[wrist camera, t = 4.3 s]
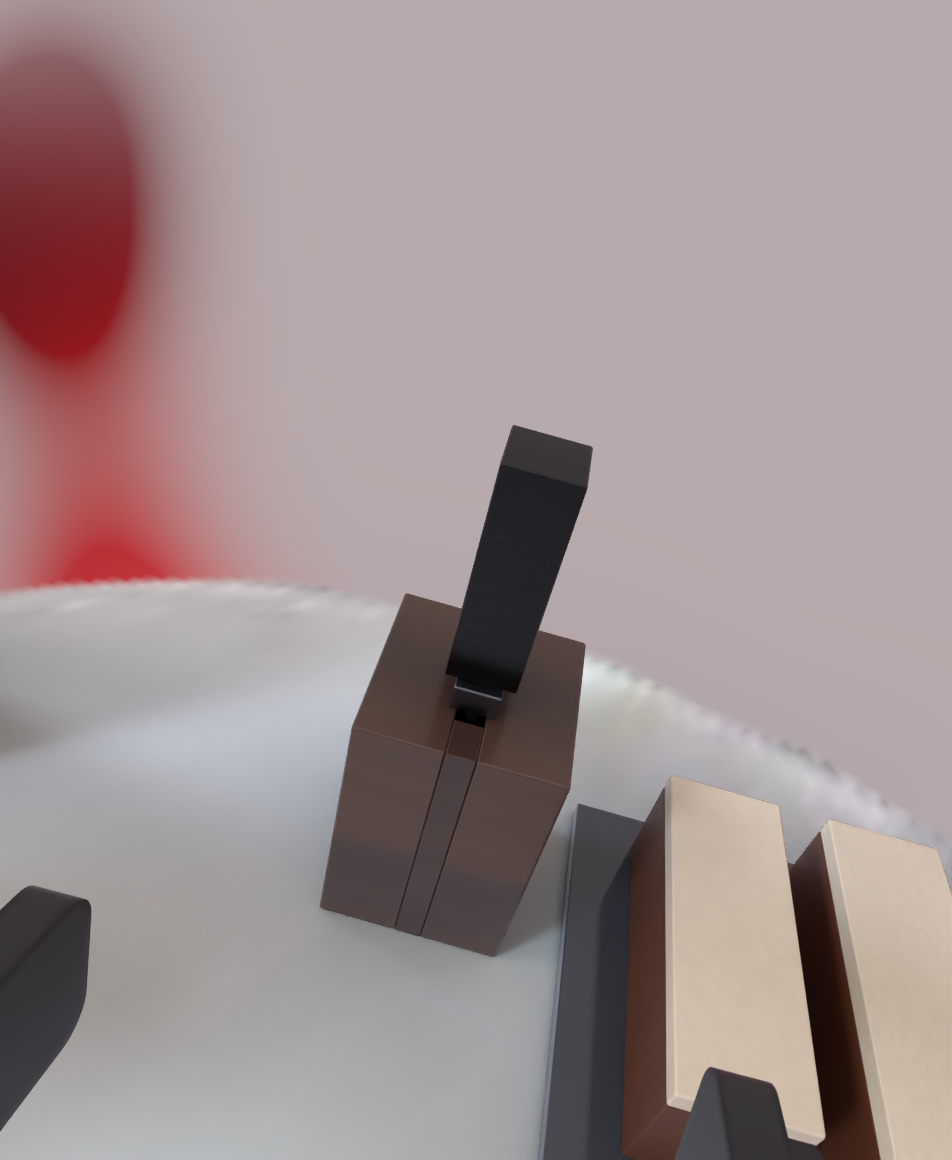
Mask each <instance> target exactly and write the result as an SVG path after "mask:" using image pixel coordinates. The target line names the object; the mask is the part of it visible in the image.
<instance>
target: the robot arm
mask: <svg viewBox="0 0 952 1160" xmlns="http://www.w3.org/2000/svg"><path fill="white" fill-rule="evenodd" d="M90 926H91V905H90V903H89V901H88V900H86V899H82V898H78V897H75V896H71V895H67V894H63V893H60V892H56V891H52V890H48V889H44V888H41V887H37V886H28V887H26V888H24V889H23V890H21V891H20V892H19V893H18V894H17V895H16V896H15V897H13V898H12V899H11V900H10V901H9V902H8V903H7V904H6V905H5V906H4V907H3V908H2V909H1V910H0V1131H1V1130H2V1128H3V1127H4V1126H5V1124H6V1123H7V1122H8V1120H9V1119H10V1118H11V1116H12V1115H13V1114H14V1112H15V1111H16V1110H17V1108H18V1107H19V1106H20V1104H21V1103H22V1102H23V1100H24V1099H25V1098H26V1096H27V1095H28V1094H29V1092H30V1091H31V1090H32V1088H33V1087H34V1086H35V1084H36V1083H37V1082H38V1080H39V1079H40V1078H41V1077H42V1075H43V1074H44V1073H45V1071H46V1070H47V1069H48V1067H49V1066H50V1065H51V1063H52V1062H53V1061H54V1059H55V1058H56V1057H57V1055H58V1054H59V1053H60V1051H61V1050H62V1049H63V1047H64V1046H65V1044H66V1043H67V1041H68V1040H69V1038H70V1036H71V1034H72V1032H73V1031H74V1029H75V1026H76V1024H77V1022H78V1020H79V1017H80V1015H81V1012H82V1009H83V1005H84V1002H85V997H86V989H87V974H88V958H89V942H90ZM674 1160H824V1158H823V1157H822V1155H821V1154H820V1152H819V1150H818V1149H817V1147H816V1146H815V1145H813V1144H809V1143H805V1142H802V1141H798V1140H794V1139H790V1138H788V1134H787V1130H786V1126H785V1122H784V1117H783V1113H782V1109H781V1105H780V1101H779V1097H778V1093H777V1091H776V1088H775V1087H774V1085H773V1084H772V1083H770V1082H767V1081H763V1080H759V1079H755V1078H751V1077H748V1076H744V1075H740V1074H736V1073H732V1072H729V1071H725V1070H721V1069H717V1068H714V1067H709V1068H708V1069H707V1070H706V1071H705V1073H704V1075H703V1078H702V1080H701V1083H700V1086H699V1089H698V1092H697V1095H696V1098H695V1100H694V1103H693V1106H692V1109H691V1112H690V1115H689V1118H688V1121H687V1123H686V1126H685V1129H684V1132H683V1135H682V1138H681V1141H680V1144H679V1147H678V1149H677V1152H676V1156H675V1159H674Z"/></svg>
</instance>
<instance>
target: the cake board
mask: <svg viewBox="0 0 952 1160" xmlns="http://www.w3.org/2000/svg"><path fill="white" fill-rule="evenodd" d="M644 823H645V822H642V821H638V820H635V819H631V818H628V817H624V816H621V815H617V814H614V813H610V812H607V811H603V810H599V809H596V808H592V807H589V806H585V805H582V804H578V805H577V807H576V809H575V811H574V813H573V822H572V832H571V841H570V851H569V861H568V871H567V881H566V891H565V901H564V910H563V920H562V930H561V940H560V950H559V960H558V970H557V979H556V989H555V999H554V1009H553V1019H552V1029H551V1039H550V1048H549V1058H548V1068H547V1078H546V1088H545V1098H544V1108H543V1117H542V1127H541V1137H540V1147H539V1157H538V1160H634V1159H631V1158H627V1157H624V1156H622V1122H623V1091H624V1060H625V1029H626V998H627V968H628V937H629V906H630V875H631V846H632V844H633V843H634V841H635V839H636V837H637V835H638V834H639V832H640V830H641V828H642V826H643V825H644ZM787 865H788V872H789V870H790V869H791V868H792V866H793V865H794V864H791V863H787Z"/></svg>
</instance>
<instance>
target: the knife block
mask: <svg viewBox="0 0 952 1160" xmlns="http://www.w3.org/2000/svg"><path fill="white" fill-rule="evenodd" d="M461 610H462V609H460V608H457V607H454V606H450V605H446V604H443V603H439V602H436V601H432V600H428V599H425V598H421V597H418V596H414V595H411V594H405V596H404V598H403V601H402V603H401V606H400V608H399V611H398V613H397V616H396V618H395V621H394V623H393V626H392V628H391V631H390V633H389V636H388V638H387V641H386V643H385V646H384V648H383V651H382V653H381V656H380V658H379V661H378V663H377V666H376V668H375V671H374V673H373V676H372V678H371V681H370V683H369V686H368V688H367V691H366V693H365V696H364V698H363V701H362V703H361V706H360V708H359V711H358V713H357V716H356V718H355V721H354V723H353V726H352V729H351V734H350V740H349V746H348V751H347V757H346V763H345V768H344V774H343V779H342V785H341V791H340V796H339V802H338V807H337V813H336V819H335V824H334V830H333V835H332V841H331V847H330V852H329V858H328V863H327V869H326V875H325V880H324V886H323V891H322V897H321V903H320V907H321V908H324V909H327V910H331V911H334V912H338V913H341V914H345V915H348V916H352V917H355V918H359V919H362V920H366V921H369V922H373V923H376V924H380V925H383V926H387V927H390V928H394V927H395V929H396V930H400V931H403V932H407V933H410V934H414V935H417V936H420V934H421V936H422V937H426V938H429V939H433V940H436V941H440V942H443V943H447V944H450V945H454V946H457V947H461V948H464V949H468V950H471V951H475V952H478V953H482V954H485V955H489V956H492V957H495V956H496V954H497V951H498V949H499V947H500V945H501V942H502V940H503V938H504V936H505V934H506V931H507V929H508V927H509V925H510V922H511V920H512V918H513V916H514V913H515V911H516V909H517V907H518V904H519V902H520V900H521V898H522V895H523V893H524V891H525V889H526V887H527V884H528V882H529V880H530V878H531V875H532V873H533V871H534V869H535V866H536V864H537V862H538V860H539V857H540V855H541V853H542V851H543V848H544V846H545V844H546V842H547V840H548V837H549V835H550V833H551V831H552V828H553V826H554V824H555V822H556V819H557V817H558V815H559V813H560V810H561V808H562V806H563V804H564V801H565V799H566V797H567V795H568V793H569V790H570V785H571V776H572V767H573V758H574V748H575V739H576V730H577V721H578V711H579V702H580V693H581V684H582V675H583V665H584V656H585V647H586V646H585V644H584V643H582V642H578V641H575V640H571V639H568V638H564V637H560V636H557V635H553V634H550V633H546V632H543V631H539V630H538V633H537V636H536V639H535V642H534V644H533V647H532V650H531V653H530V656H529V659H528V662H527V665H526V668H525V671H524V673H523V676H522V679H521V682H520V685H519V688H518V691H517V693H516V694H514V693H511V692H507V691H504V694H503V699H502V702H501V705H500V709H499V712H498V715H497V718H496V719H495V720H493V719H489V718H486V717H482V716H479V715H478V716H477V719H476V722H475V725H471V724H468V723H464V722H461V720H462V716H463V713H464V711H461V710H457V709H454V708H450V707H449V703H450V699H451V695H452V692H453V688H454V685H455V681H456V678H457V677H454V676H450V675H447V674H445V671H446V667H447V663H448V659H449V656H450V652H451V648H452V644H453V640H454V637H455V633H456V629H457V625H458V622H459V618H460V614H461Z"/></svg>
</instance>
